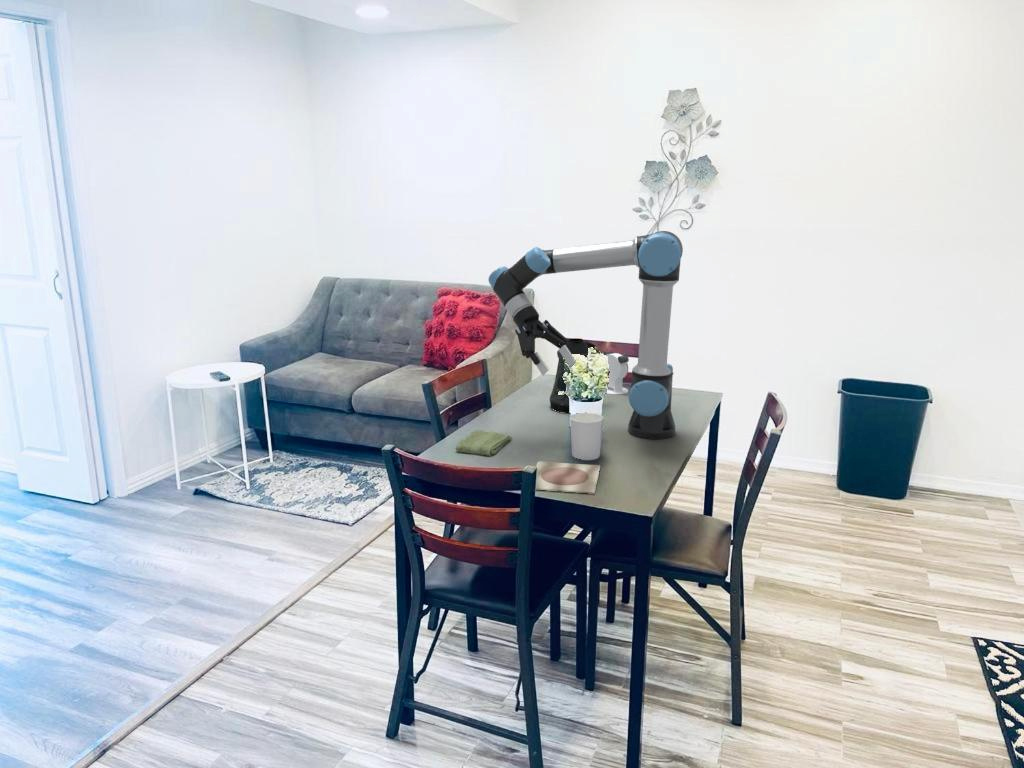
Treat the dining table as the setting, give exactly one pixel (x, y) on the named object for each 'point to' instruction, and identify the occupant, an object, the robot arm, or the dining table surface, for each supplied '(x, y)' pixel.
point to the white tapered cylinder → (586, 435)
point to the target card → (567, 477)
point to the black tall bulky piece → (575, 347)
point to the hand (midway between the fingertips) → (560, 368)
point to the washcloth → (483, 442)
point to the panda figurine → (617, 372)
